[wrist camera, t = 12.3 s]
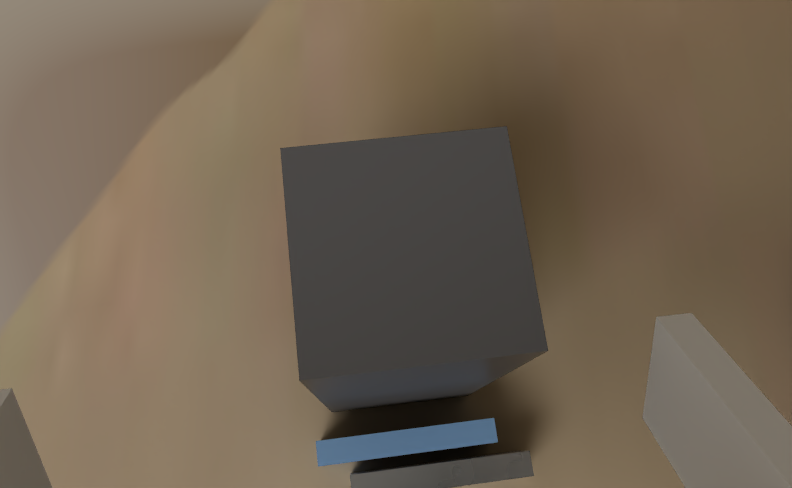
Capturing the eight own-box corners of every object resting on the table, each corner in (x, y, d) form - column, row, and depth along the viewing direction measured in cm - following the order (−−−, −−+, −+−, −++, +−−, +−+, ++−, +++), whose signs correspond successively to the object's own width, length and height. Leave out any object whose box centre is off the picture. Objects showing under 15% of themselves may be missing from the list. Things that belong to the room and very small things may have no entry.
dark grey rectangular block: (448, 264, 27) (506, 126, 15) (467, 395, 25) (547, 350, 14) (319, 279, 26) (280, 148, 15) (331, 412, 25) (299, 380, 14)
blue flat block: (452, 218, 27) (458, 201, 25) (488, 442, 25) (498, 442, 23) (300, 235, 27) (295, 218, 25) (322, 465, 24) (318, 466, 23)
